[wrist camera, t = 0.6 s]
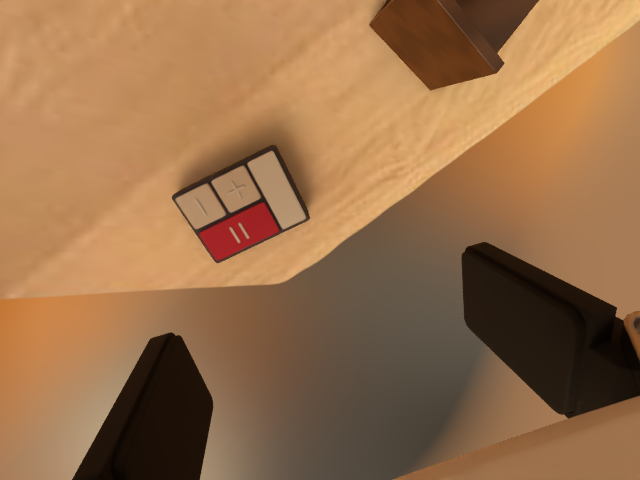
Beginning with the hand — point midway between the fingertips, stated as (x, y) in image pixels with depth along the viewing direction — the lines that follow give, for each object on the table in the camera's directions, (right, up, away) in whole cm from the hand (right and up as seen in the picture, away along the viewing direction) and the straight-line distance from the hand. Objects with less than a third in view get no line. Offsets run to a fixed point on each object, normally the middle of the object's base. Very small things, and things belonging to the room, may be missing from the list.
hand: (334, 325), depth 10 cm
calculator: (-11, +8, +33) cm, 36 cm away
